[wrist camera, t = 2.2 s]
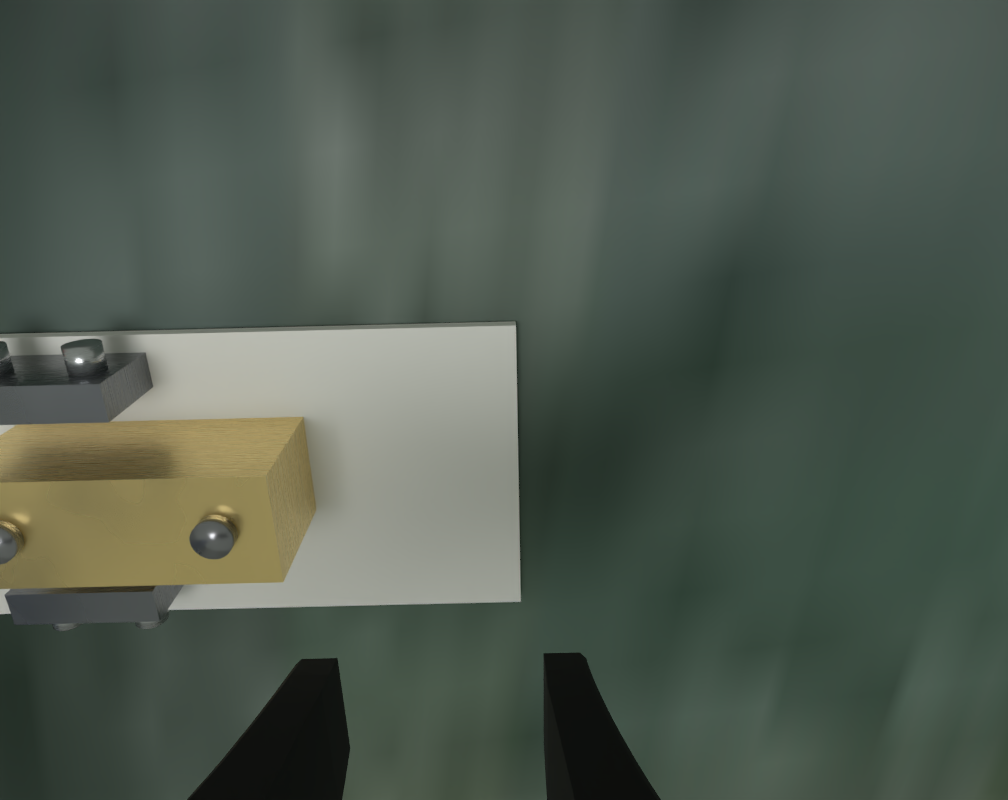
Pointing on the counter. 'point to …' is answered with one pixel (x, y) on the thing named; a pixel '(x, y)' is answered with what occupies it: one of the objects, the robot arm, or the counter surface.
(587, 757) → the robot arm
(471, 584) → the mat
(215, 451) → the link
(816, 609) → the counter surface
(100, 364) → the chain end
